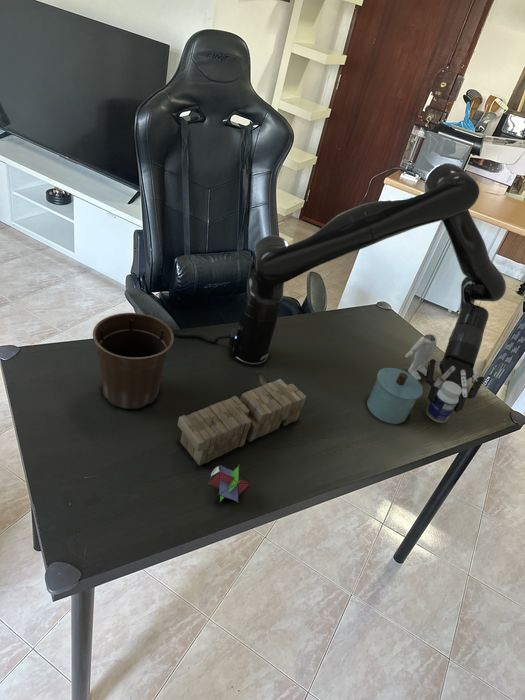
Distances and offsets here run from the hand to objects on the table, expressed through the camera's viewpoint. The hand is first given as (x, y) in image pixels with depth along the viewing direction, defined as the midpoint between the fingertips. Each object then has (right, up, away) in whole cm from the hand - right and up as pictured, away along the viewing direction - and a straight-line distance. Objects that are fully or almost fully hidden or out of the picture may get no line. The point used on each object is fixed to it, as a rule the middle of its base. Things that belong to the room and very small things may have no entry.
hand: (443, 406), depth 121 cm
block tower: (-50, -4, -14) cm, 52 cm away
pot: (-13, -1, +3) cm, 14 cm away
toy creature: (-1, +7, +20) cm, 21 cm away
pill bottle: (0, -3, +4) cm, 5 cm away
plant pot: (-75, +5, -11) cm, 76 cm away
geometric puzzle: (-52, -14, -28) cm, 61 cm away
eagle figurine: (-45, +2, -4) cm, 45 cm away
